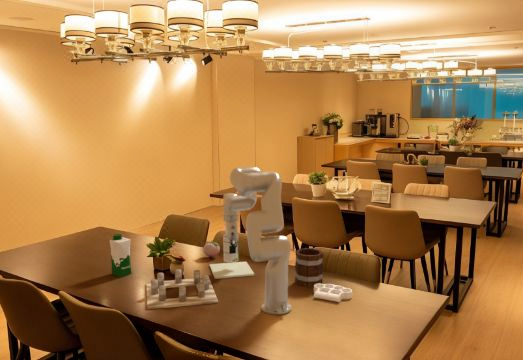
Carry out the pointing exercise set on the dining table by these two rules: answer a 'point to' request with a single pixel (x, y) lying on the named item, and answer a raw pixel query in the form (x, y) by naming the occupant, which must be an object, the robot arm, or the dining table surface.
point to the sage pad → (231, 270)
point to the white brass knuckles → (332, 292)
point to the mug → (308, 267)
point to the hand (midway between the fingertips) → (231, 250)
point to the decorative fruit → (211, 249)
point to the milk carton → (120, 255)
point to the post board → (175, 301)
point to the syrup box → (227, 255)
